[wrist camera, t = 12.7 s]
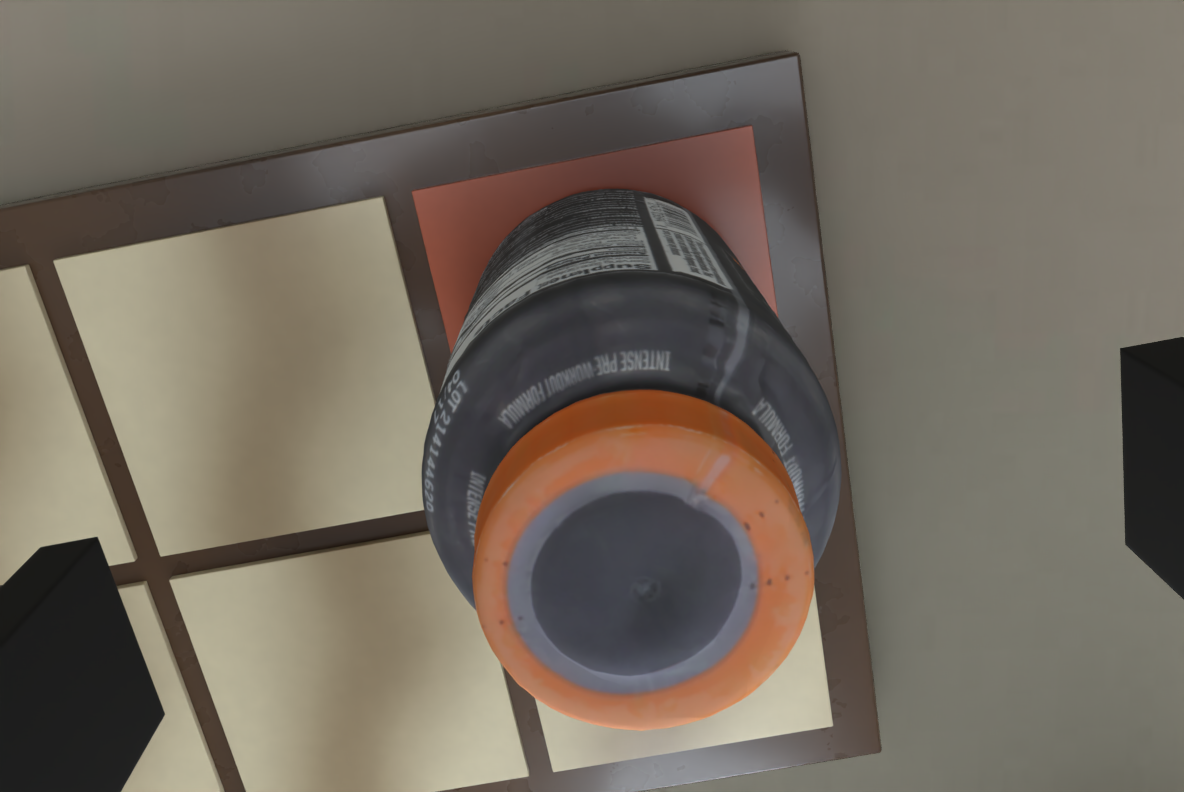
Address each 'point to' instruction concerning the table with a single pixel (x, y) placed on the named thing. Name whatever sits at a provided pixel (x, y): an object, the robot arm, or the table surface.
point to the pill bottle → (630, 465)
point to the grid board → (376, 437)
